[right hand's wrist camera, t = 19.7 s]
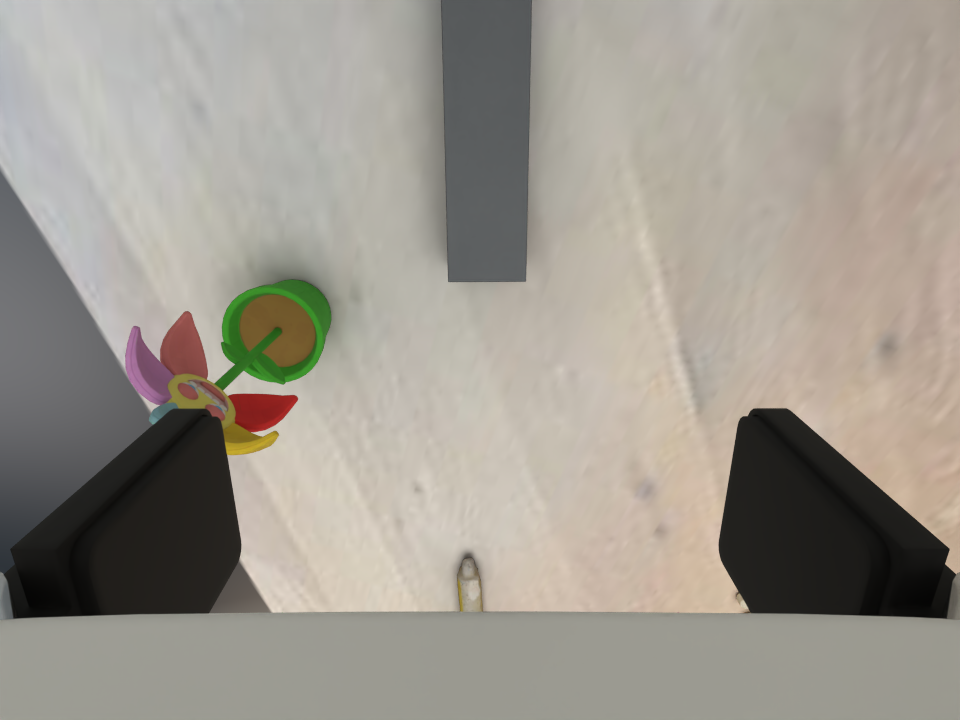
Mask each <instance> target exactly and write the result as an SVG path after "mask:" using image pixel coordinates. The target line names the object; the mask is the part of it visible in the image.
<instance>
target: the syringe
mask: <svg viewBox="0 0 960 720" xmlns="http://www.w3.org/2000/svg"><path fill="white" fill-rule="evenodd" d="M457 581H458V594H459V603H460V612H483V605H482V591H481V580H480V577H479V573H478V569H477V568H476V566H475V563H474V559H473V558H471V557H468V558H466V559H464V560H463V561H462V566H461V567H460V569H459V573H458V574H457Z"/></svg>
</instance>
